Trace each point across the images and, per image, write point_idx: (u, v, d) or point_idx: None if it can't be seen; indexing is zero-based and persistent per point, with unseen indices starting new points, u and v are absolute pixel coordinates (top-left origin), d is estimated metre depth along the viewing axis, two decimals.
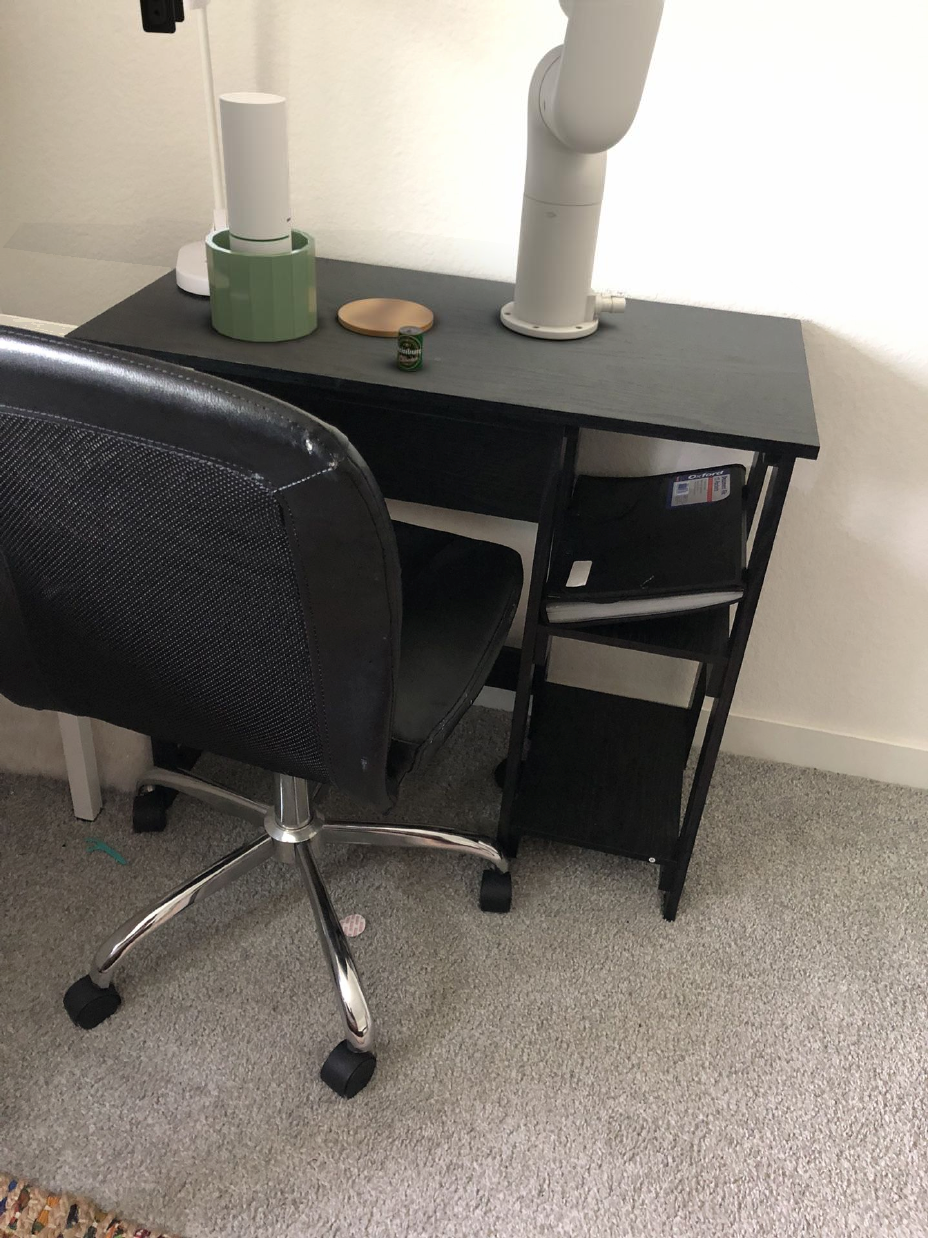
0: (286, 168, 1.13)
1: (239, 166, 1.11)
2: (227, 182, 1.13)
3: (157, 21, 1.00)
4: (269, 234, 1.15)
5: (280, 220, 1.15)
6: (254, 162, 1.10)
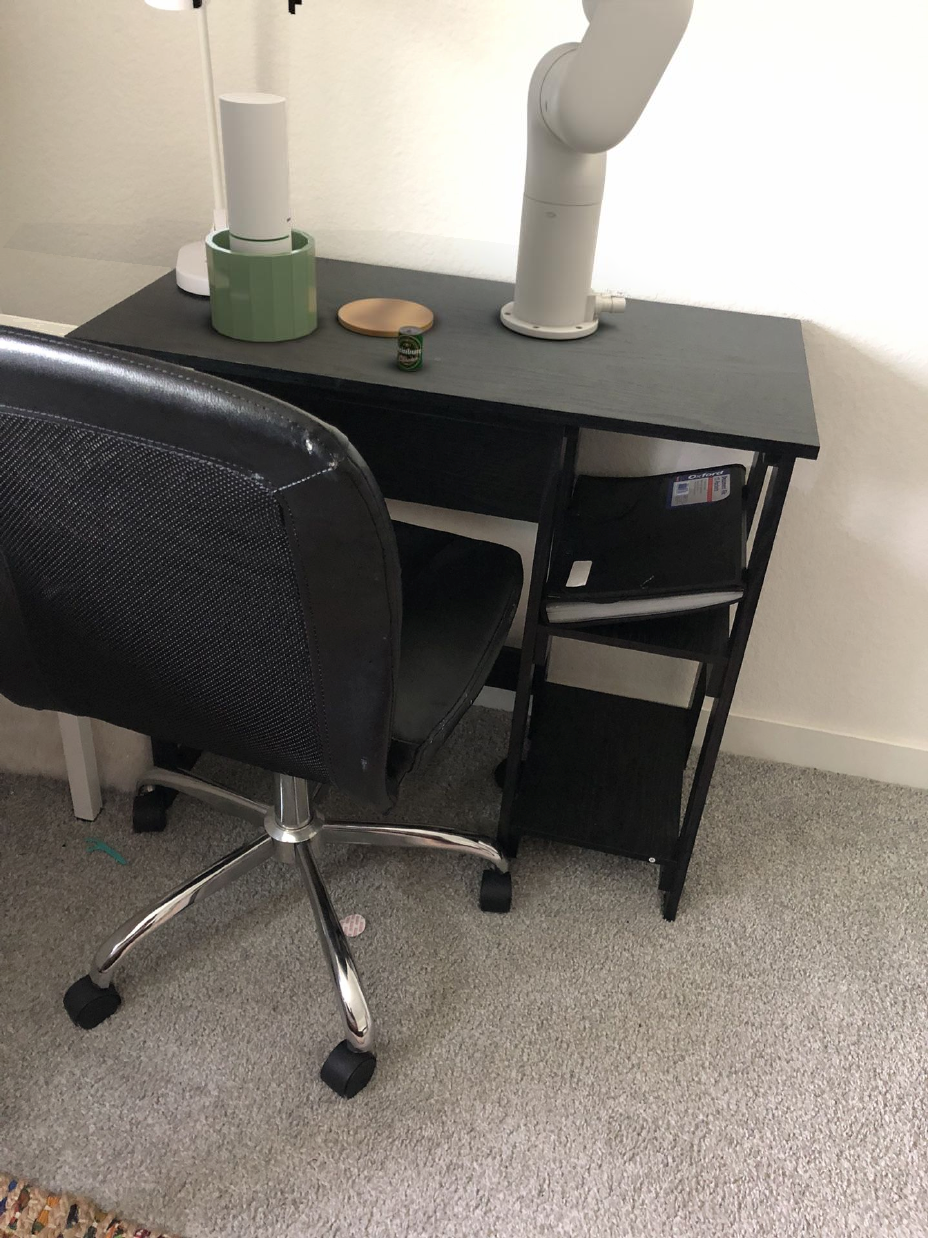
0: (286, 168, 1.13)
1: (239, 166, 1.11)
2: (227, 182, 1.13)
3: None
4: (269, 234, 1.15)
5: (280, 220, 1.15)
6: (254, 162, 1.10)
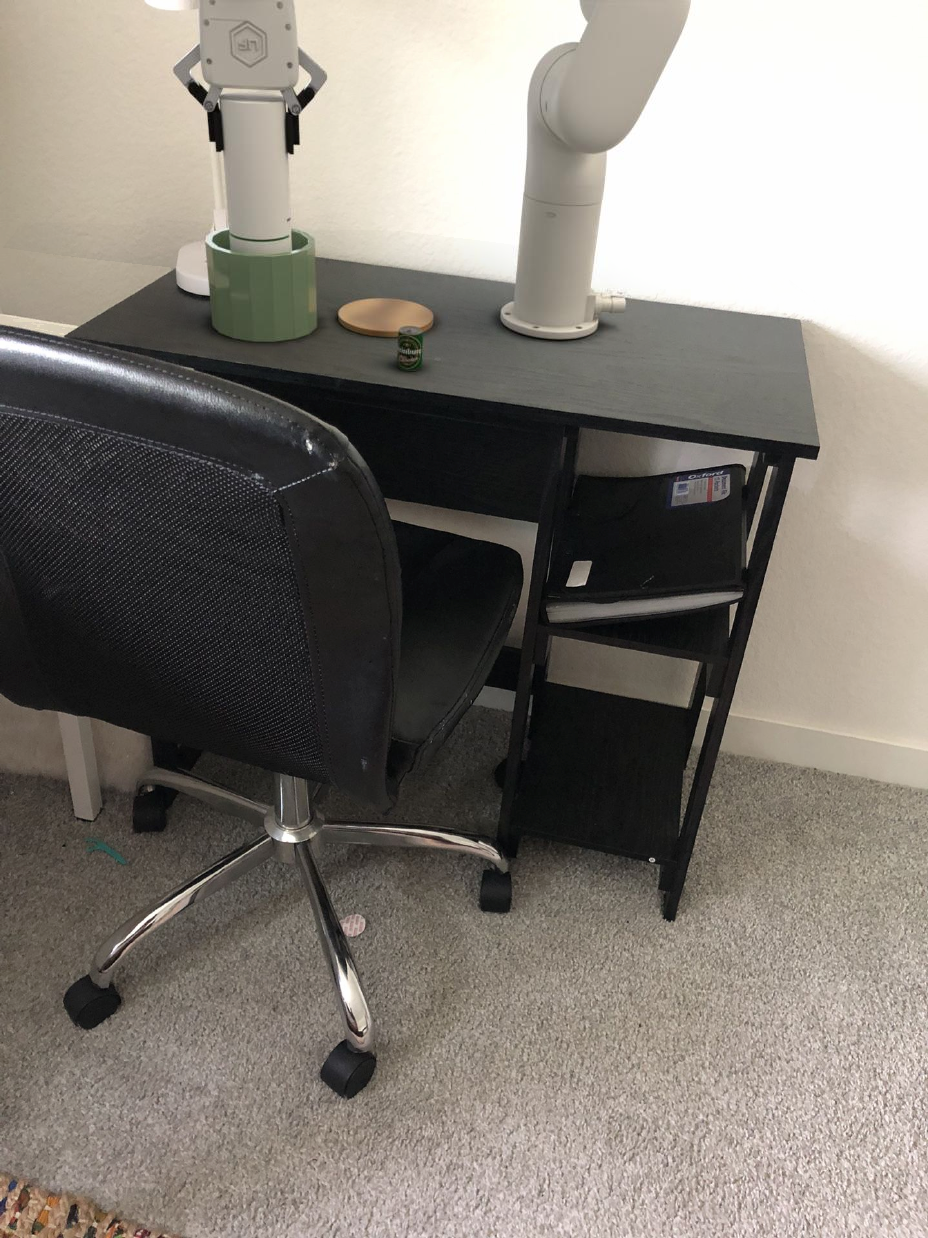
0: (286, 168, 1.13)
1: (239, 166, 1.11)
2: (227, 182, 1.13)
3: None
4: (269, 234, 1.15)
5: (280, 220, 1.15)
6: (254, 162, 1.10)
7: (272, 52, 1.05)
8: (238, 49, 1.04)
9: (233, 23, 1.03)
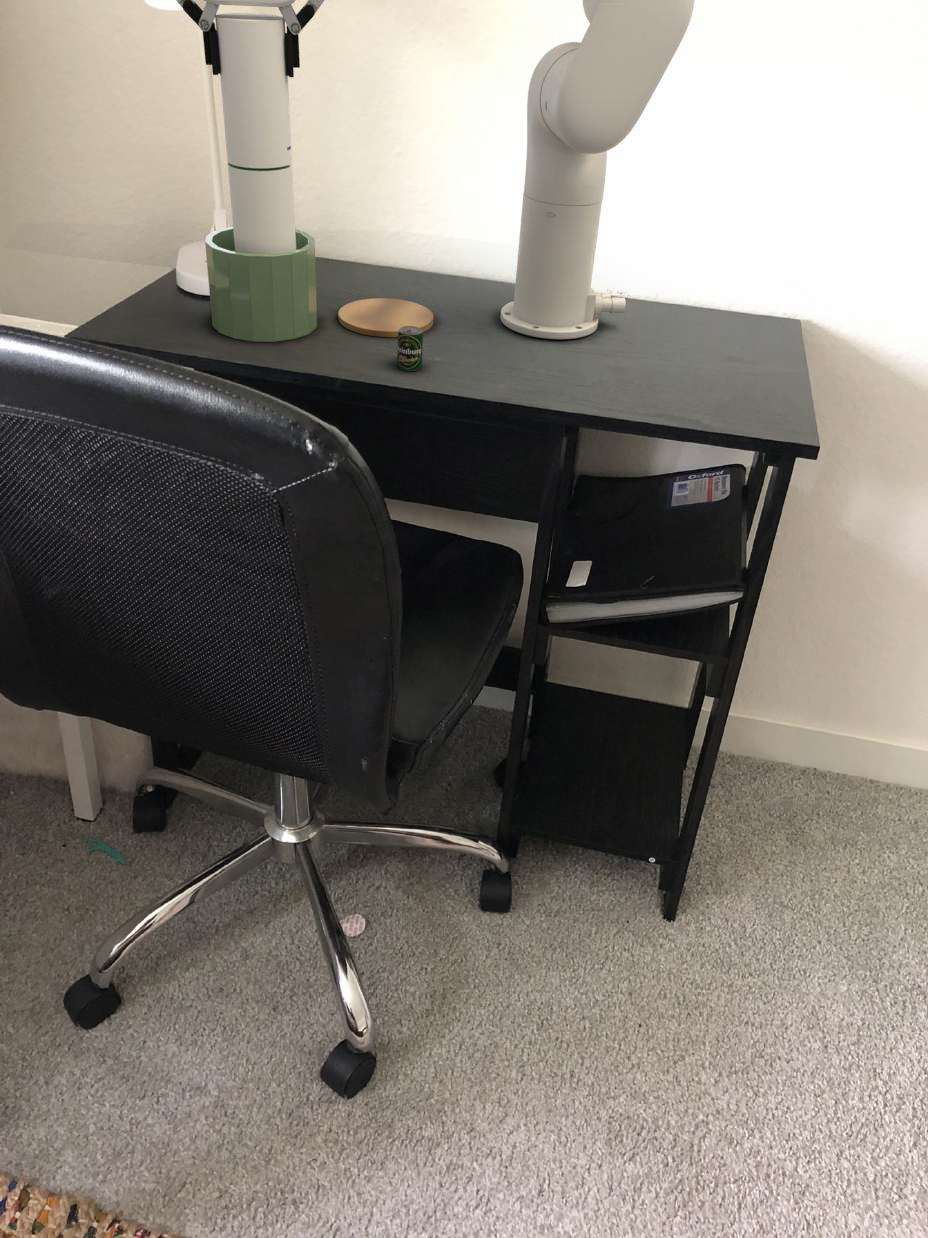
0: (286, 92, 1.09)
1: (236, 89, 1.06)
2: (225, 108, 1.09)
3: None
4: (269, 162, 1.11)
5: (280, 148, 1.11)
6: (252, 85, 1.06)
7: None
8: None
9: None
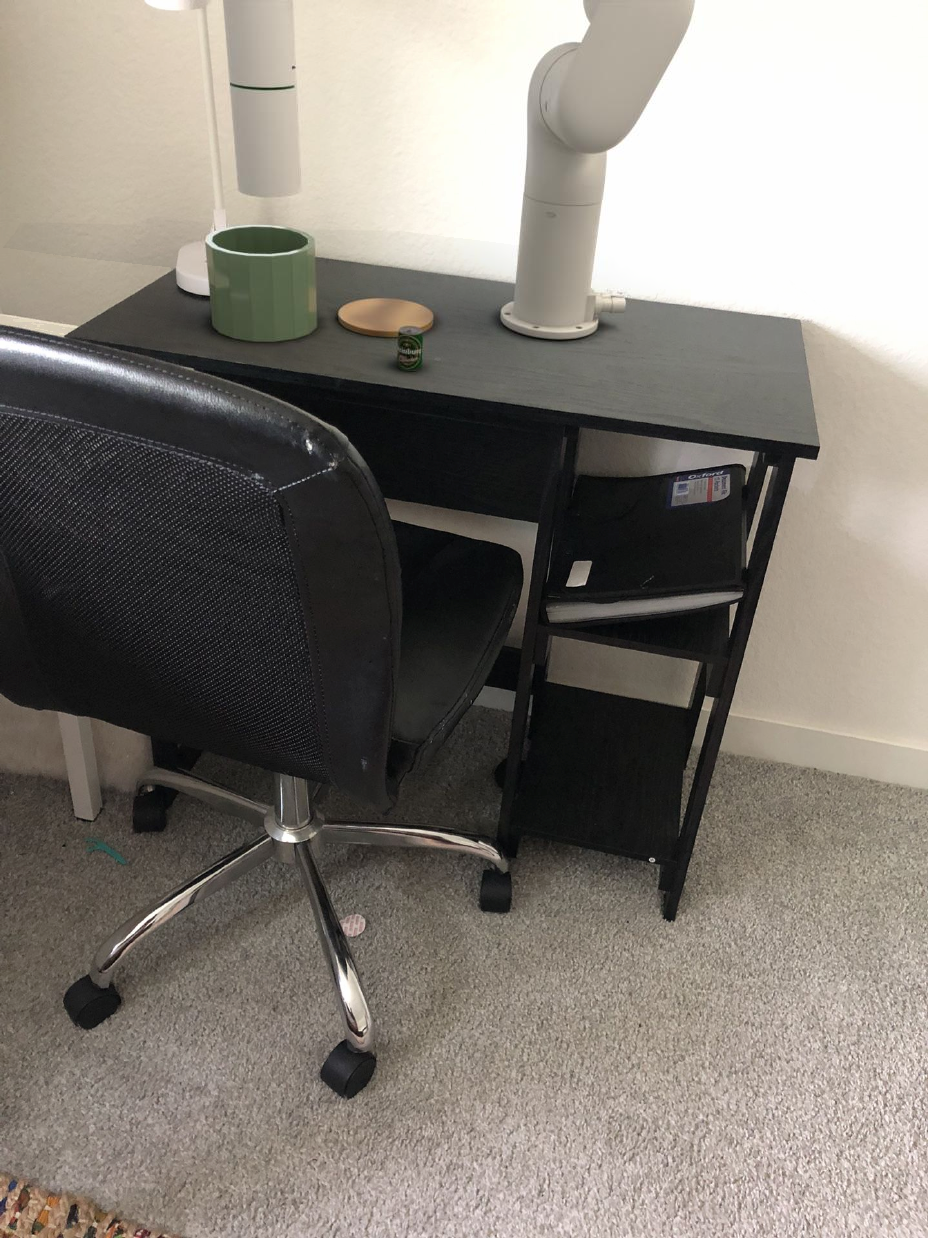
0: (290, 6, 1.04)
1: (239, 1, 1.02)
2: (227, 22, 1.04)
3: None
4: (273, 81, 1.06)
5: (284, 66, 1.06)
6: None
7: None
8: None
9: None
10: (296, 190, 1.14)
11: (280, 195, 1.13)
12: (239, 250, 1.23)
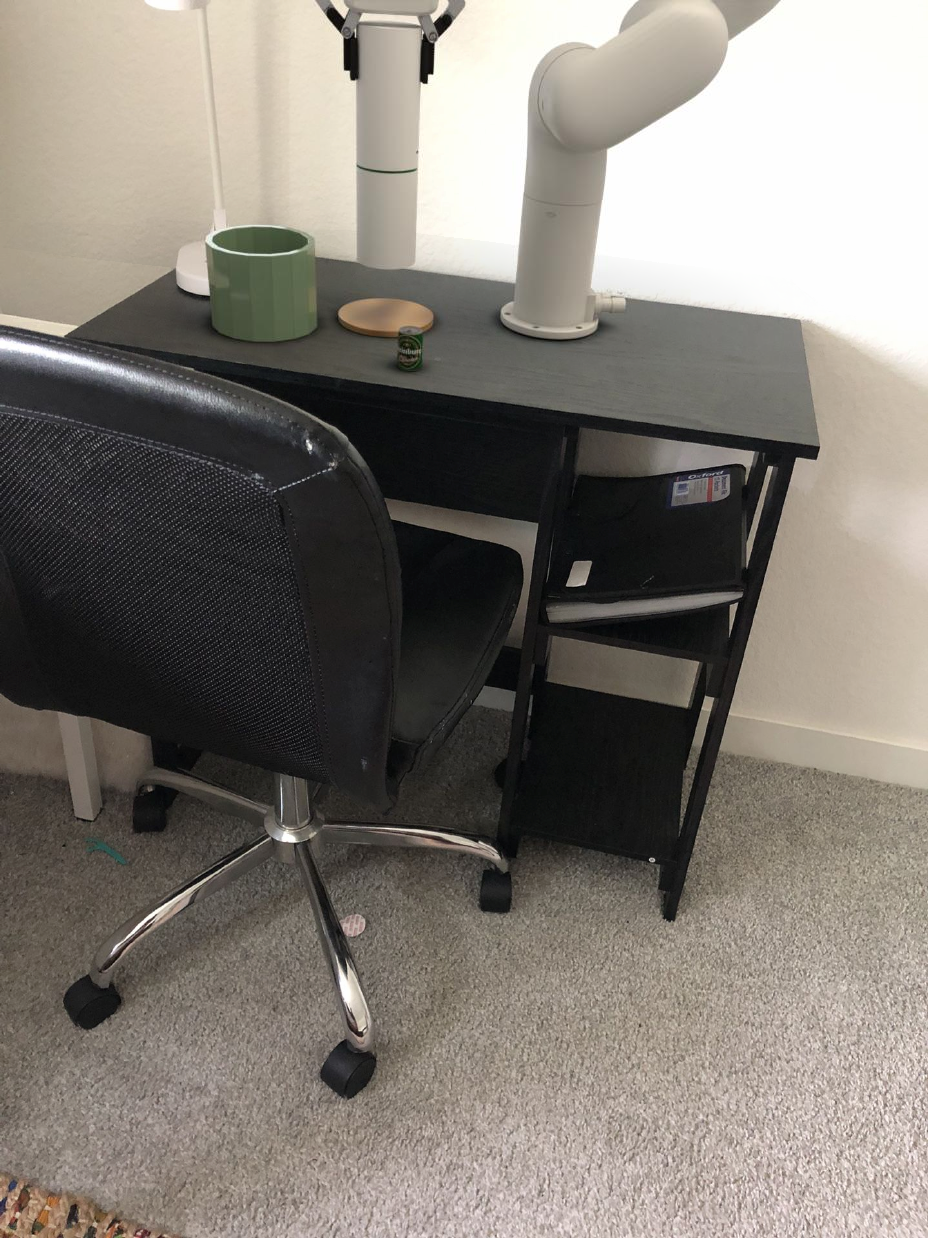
0: (419, 98, 1.12)
1: (374, 94, 1.10)
2: (359, 112, 1.12)
3: None
4: (399, 165, 1.14)
5: (410, 151, 1.14)
6: (389, 90, 1.09)
7: None
8: None
9: None
10: (412, 262, 1.22)
11: (398, 267, 1.21)
12: (239, 250, 1.23)
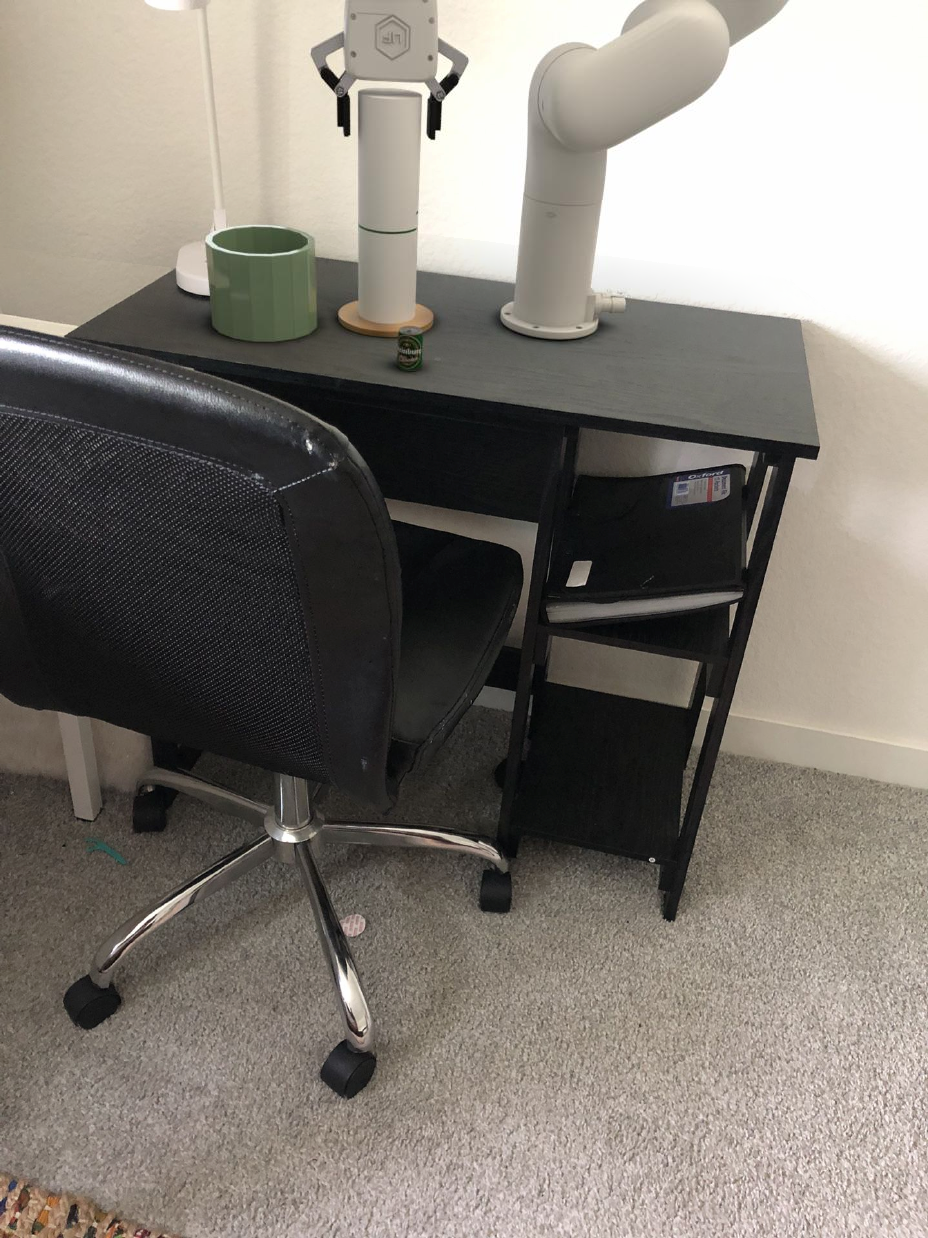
0: (418, 162, 1.16)
1: (375, 160, 1.13)
2: (361, 176, 1.16)
3: (337, 123, 1.14)
4: (400, 226, 1.18)
5: (410, 213, 1.18)
6: (390, 156, 1.13)
7: (414, 45, 1.08)
8: (382, 42, 1.07)
9: (379, 17, 1.06)
10: (412, 316, 1.26)
11: (398, 322, 1.25)
12: (239, 250, 1.23)
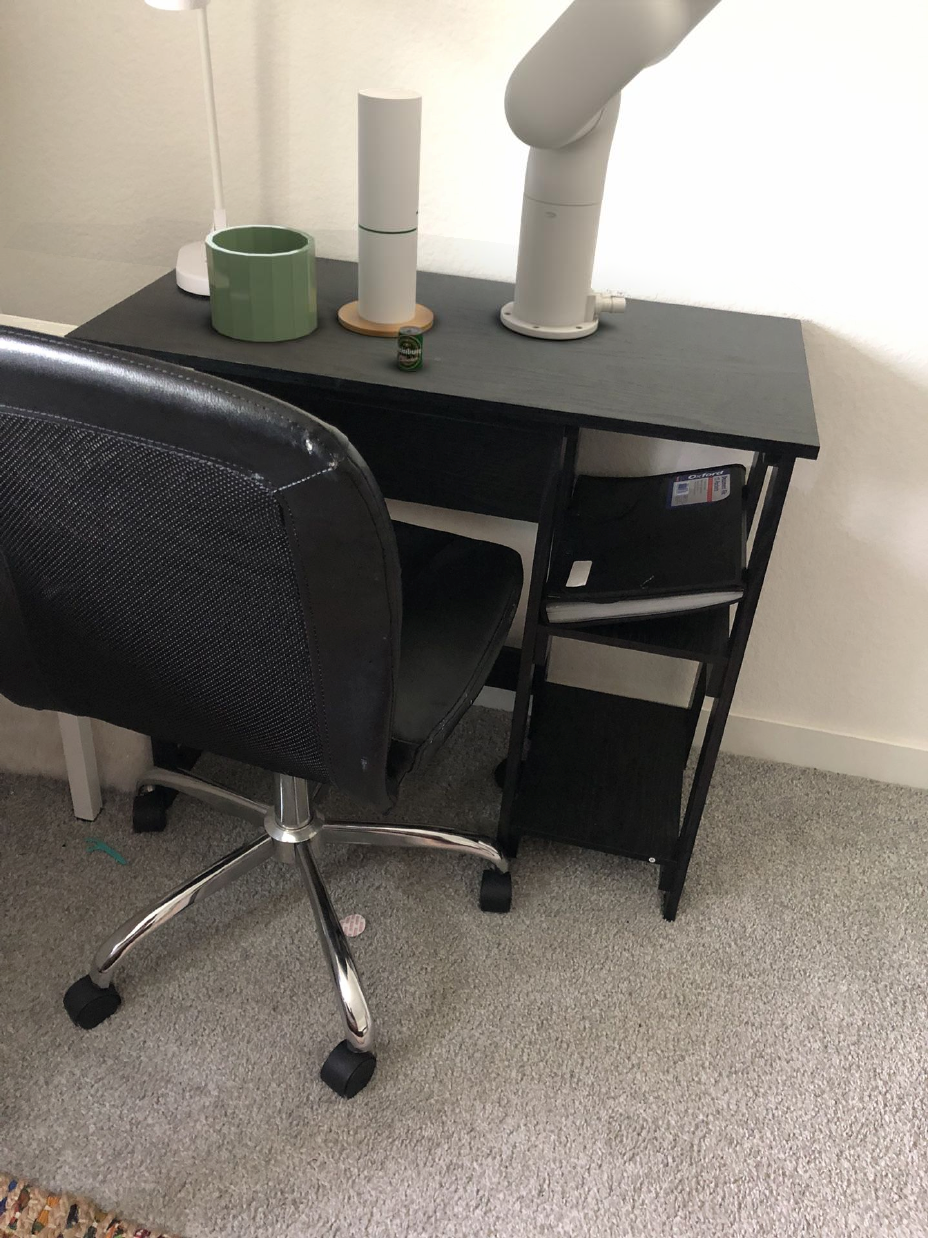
0: (418, 162, 1.16)
1: (375, 160, 1.13)
2: (361, 176, 1.16)
3: None
4: (400, 226, 1.18)
5: (410, 213, 1.18)
6: (390, 156, 1.13)
7: None
8: None
9: None
10: (412, 316, 1.26)
11: (398, 322, 1.25)
12: (239, 250, 1.23)
